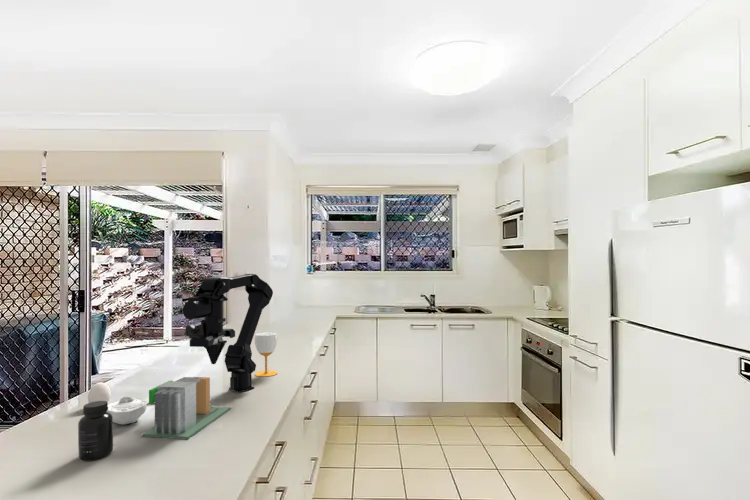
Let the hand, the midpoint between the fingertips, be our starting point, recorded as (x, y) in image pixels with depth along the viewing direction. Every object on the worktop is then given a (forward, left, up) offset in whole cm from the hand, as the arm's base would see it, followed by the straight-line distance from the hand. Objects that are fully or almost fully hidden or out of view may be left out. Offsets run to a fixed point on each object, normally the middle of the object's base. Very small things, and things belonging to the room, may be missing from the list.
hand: (213, 363), depth 138 cm
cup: (-31, -14, -12) cm, 36 cm away
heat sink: (+14, +11, -12) cm, 22 cm away
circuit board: (+14, +11, -12) cm, 22 cm away
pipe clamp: (+9, -16, -12) cm, 22 cm away
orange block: (+10, +9, -11) cm, 17 cm away
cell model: (+25, -3, -12) cm, 28 cm away
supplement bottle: (+38, +14, -12) cm, 42 cm away
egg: (+25, -24, -12) cm, 37 cm away
